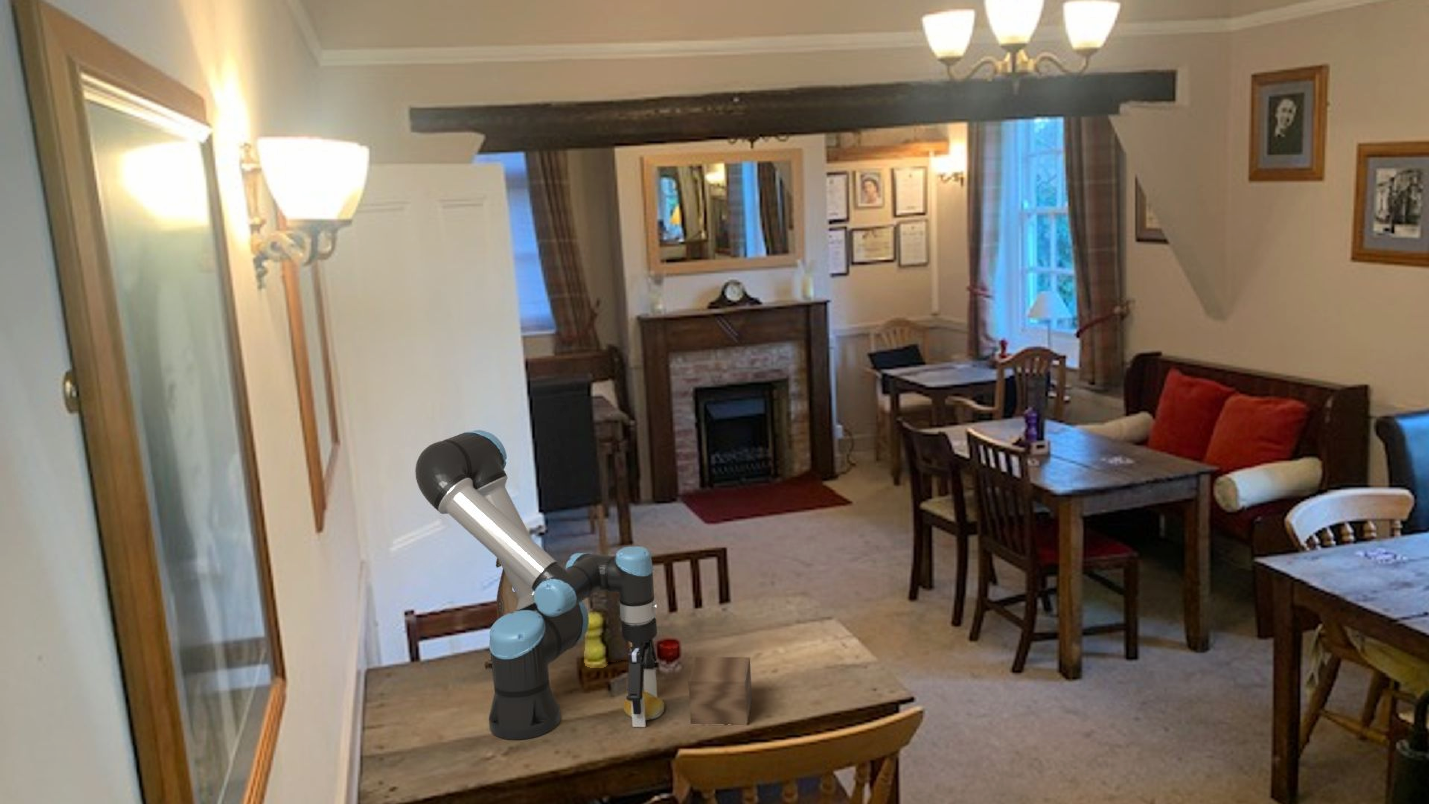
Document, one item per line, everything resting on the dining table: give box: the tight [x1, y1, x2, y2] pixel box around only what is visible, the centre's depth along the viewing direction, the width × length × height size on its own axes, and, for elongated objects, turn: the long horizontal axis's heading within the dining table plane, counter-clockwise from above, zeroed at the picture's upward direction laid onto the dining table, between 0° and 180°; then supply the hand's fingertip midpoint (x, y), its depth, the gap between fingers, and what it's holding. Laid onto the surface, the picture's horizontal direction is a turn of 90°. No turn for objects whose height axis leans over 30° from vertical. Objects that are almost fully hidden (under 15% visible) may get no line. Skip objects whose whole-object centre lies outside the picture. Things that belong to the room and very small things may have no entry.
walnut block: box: [687, 656, 753, 726], centre depth 229 cm, size 12×12×10 cm
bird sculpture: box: [484, 557, 518, 669], centre depth 254 cm, size 11×12×32 cm
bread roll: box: [622, 691, 665, 721], centre depth 231 cm, size 8×9×4 cm
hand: (645, 711), depth 231 cm, fingers open, 13 cm apart
